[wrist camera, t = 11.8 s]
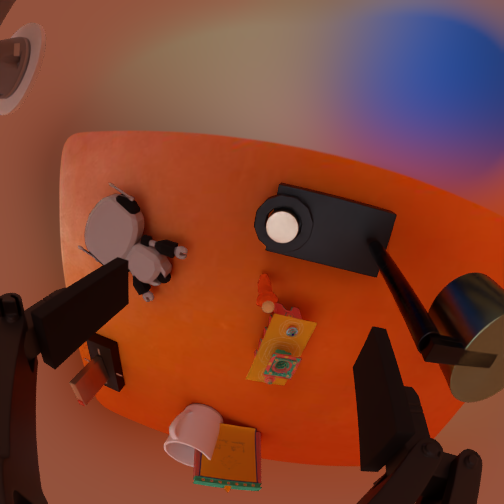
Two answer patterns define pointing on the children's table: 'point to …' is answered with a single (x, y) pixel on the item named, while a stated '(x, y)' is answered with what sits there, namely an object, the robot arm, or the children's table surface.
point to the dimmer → (107, 359)
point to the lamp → (454, 328)
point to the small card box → (89, 380)
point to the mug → (193, 433)
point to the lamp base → (328, 228)
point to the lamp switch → (282, 225)
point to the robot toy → (129, 242)
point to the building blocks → (263, 370)
